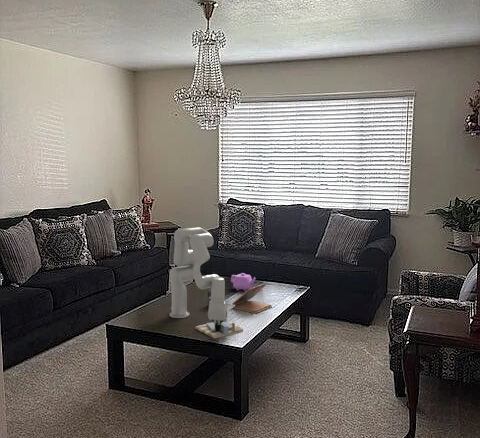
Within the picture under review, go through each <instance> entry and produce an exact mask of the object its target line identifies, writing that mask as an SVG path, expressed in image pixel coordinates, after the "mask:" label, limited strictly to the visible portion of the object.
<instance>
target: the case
mask: <svg viewBox="0 0 480 438" xmlns="http://www.w3.org/2000/svg"><path fill="white" fill-rule="evenodd" d="M265 286H266V283H262V284H259V285H256V286H252V287H251V288H250V289H247V291H244V292H243V293H242V294H241V295H240V296H239V297H238V298H237V299H236V300H234V302H232V305H233V306H232V308H233V309H235V310H238V311H243V312H247V313H252V314H258V313H261V312H264V311H266V310H269V309H271V308H273V305H271V304H269V303H264V302H261V301H255V300H251V299H252V298H254V296H257V294H258V293H260V291H261V290H262V289H264V288H265Z"/></svg>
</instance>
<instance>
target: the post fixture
mask: <svg viewBox="0 0 480 438" xmlns="http://www.w3.org/2000/svg"><path fill="white" fill-rule="evenodd" d="M226 322H227V323H228V324H230V325H231V326H232V329H230V330H228V334H225V335H224V334H223V333H222V332H221V331H218V332H217V331H213V332H212V331H211V329H210V328H209V327H208V326H207V325H206V324H200V325H197V326H195V329H196V330H197V331H199V332H201V333H203V334H205V335H207V336H209V337H211V338H212V339H218V338H223V337H226V336H230V335H234V334H238V333H242V332H244V328H242V327H239V326H238V325H236V324H235V322H232V323H231V322H230V321H228V320H227V321H226Z"/></svg>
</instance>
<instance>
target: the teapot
mask: <svg viewBox="0 0 480 438" xmlns="http://www.w3.org/2000/svg"><path fill="white" fill-rule="evenodd" d="M256 279H257V278H256V277H255V276H254V277H253V278H252V276H251V275H250V274H246V273H244V272H241V273H239V274H237V275H236V274H232V275H231V277H230V282H231V283H232V284H233V285H232V287H233V288H234V289H236V290H235V291H238V292H239V291H240V290H243V292H246V291H247V290H249V289H250V288H253V284H254V283H255V281H256Z"/></svg>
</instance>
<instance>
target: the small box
mask: <svg viewBox="0 0 480 438" xmlns="http://www.w3.org/2000/svg"><path fill="white" fill-rule="evenodd" d="M209 296H210V297H211V289H209V290H207V306H208V307H209V303H210V301H211V299H209Z"/></svg>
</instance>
